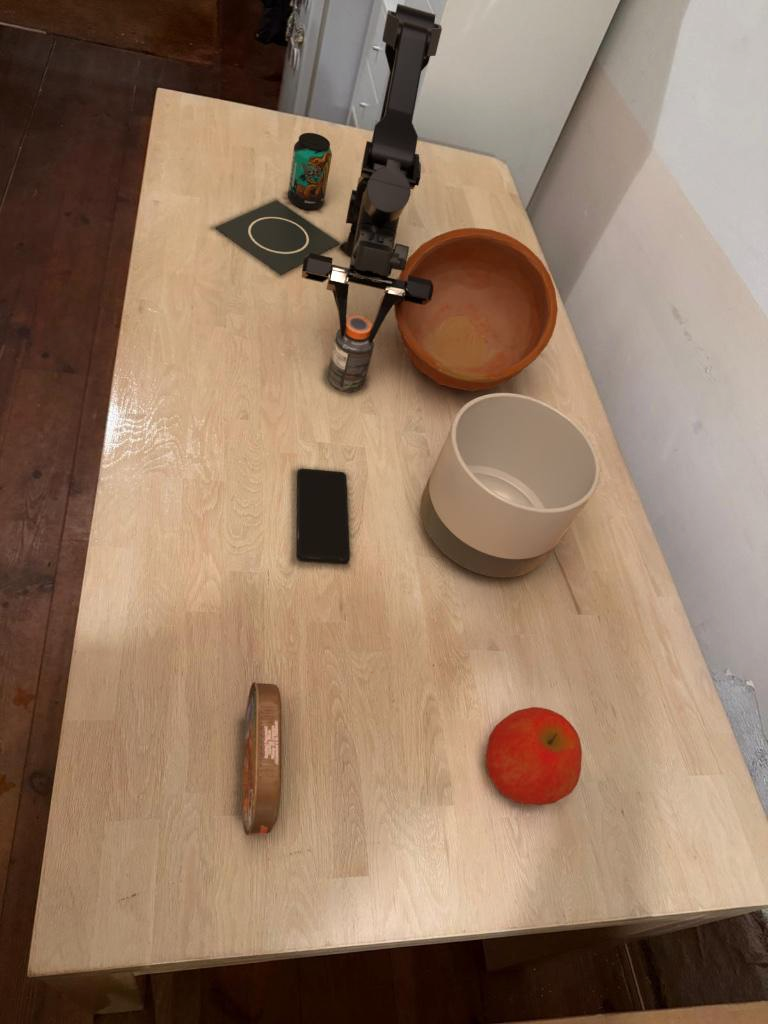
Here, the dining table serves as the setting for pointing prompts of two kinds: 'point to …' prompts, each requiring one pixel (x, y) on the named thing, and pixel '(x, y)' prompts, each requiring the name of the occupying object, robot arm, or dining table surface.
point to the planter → (508, 484)
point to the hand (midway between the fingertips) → (356, 339)
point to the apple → (534, 756)
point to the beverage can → (309, 171)
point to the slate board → (277, 236)
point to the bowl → (477, 309)
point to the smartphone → (322, 516)
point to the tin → (262, 759)
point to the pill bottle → (351, 355)
